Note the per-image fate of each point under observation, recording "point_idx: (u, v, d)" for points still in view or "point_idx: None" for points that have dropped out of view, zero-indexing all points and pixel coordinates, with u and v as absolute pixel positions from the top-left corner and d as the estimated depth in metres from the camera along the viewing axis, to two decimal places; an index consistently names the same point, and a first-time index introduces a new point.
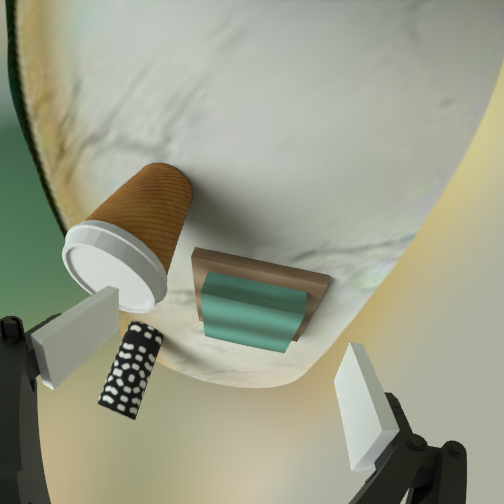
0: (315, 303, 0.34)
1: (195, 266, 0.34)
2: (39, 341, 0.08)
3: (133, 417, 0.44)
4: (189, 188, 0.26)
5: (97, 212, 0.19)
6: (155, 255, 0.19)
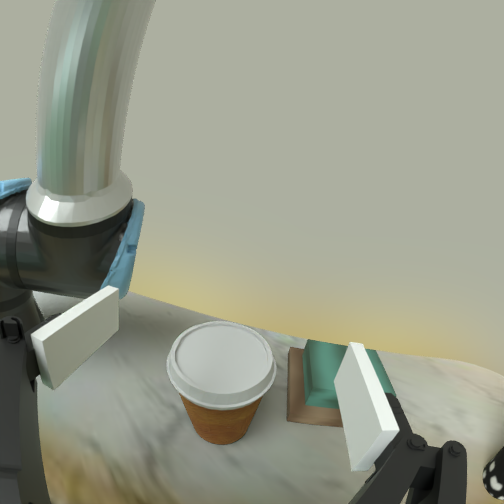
0: None
1: (303, 412, 0.30)
2: (39, 341, 0.08)
3: None
4: None
5: None
6: None
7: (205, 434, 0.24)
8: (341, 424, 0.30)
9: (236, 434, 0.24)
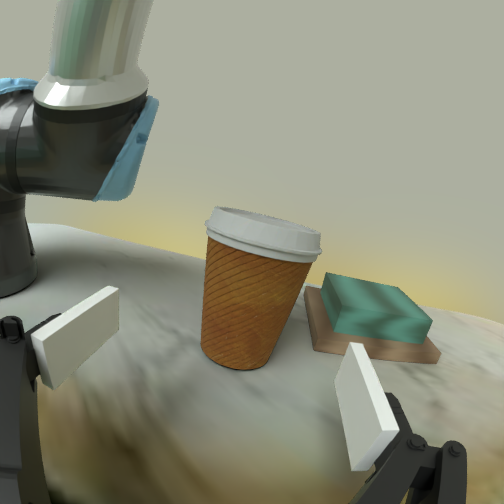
0: None
1: (332, 338, 0.27)
2: (39, 341, 0.08)
3: None
4: None
5: None
6: None
7: (218, 340, 0.21)
8: (377, 354, 0.27)
9: (257, 346, 0.21)
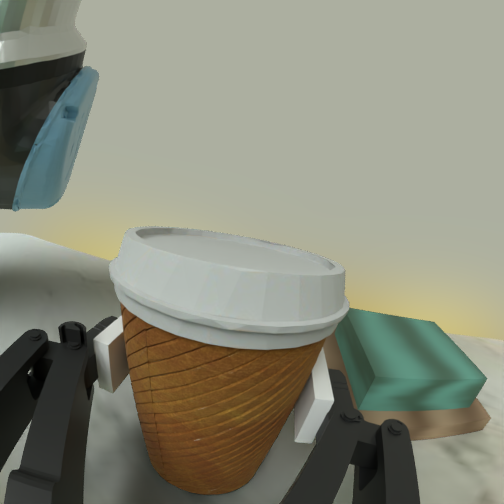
0: None
1: None
2: (104, 345, 0.10)
3: None
4: None
5: None
6: None
7: (153, 452, 0.10)
8: (416, 436, 0.15)
9: (217, 474, 0.09)
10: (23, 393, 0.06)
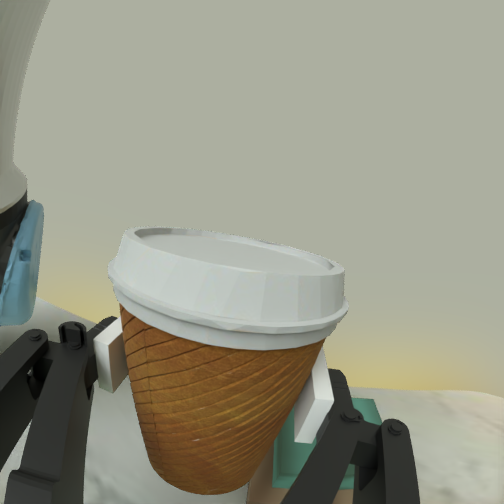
0: None
1: (267, 499, 0.18)
2: (104, 345, 0.10)
3: None
4: None
5: None
6: None
7: (152, 452, 0.10)
8: None
9: (216, 475, 0.09)
10: (23, 393, 0.06)
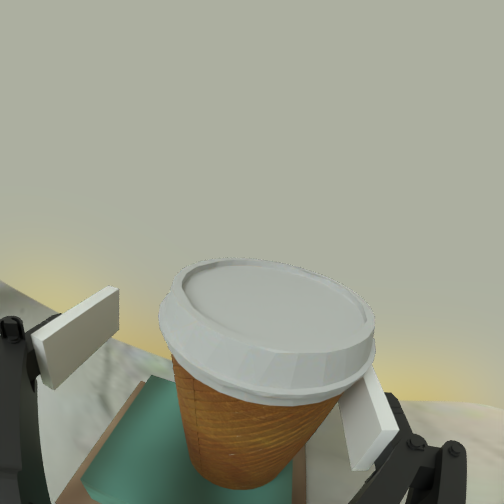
0: None
1: None
2: (39, 341, 0.08)
3: None
4: None
5: None
6: None
7: (194, 455, 0.12)
8: None
9: (245, 477, 0.11)
10: None
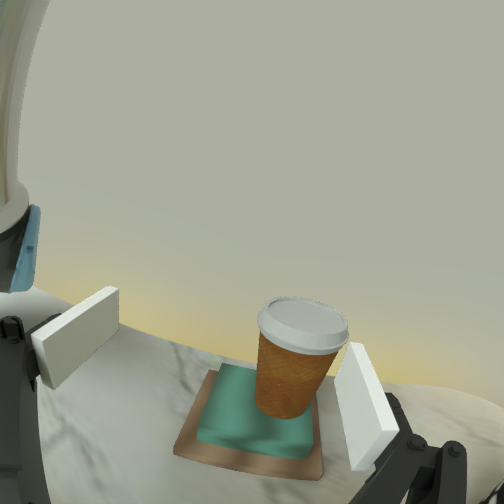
0: None
1: (189, 448, 0.24)
2: (39, 341, 0.08)
3: None
4: None
5: None
6: None
7: (263, 397, 0.27)
8: (239, 468, 0.23)
9: (290, 405, 0.26)
10: None
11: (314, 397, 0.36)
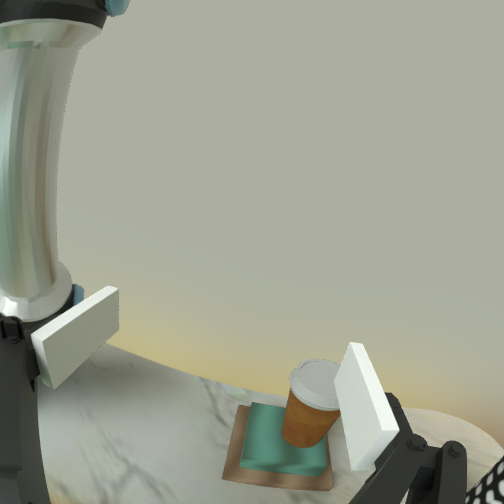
0: None
1: (235, 474, 0.30)
2: (39, 341, 0.08)
3: None
4: None
5: None
6: None
7: (290, 434, 0.33)
8: (272, 485, 0.29)
9: (311, 439, 0.32)
10: None
11: None
